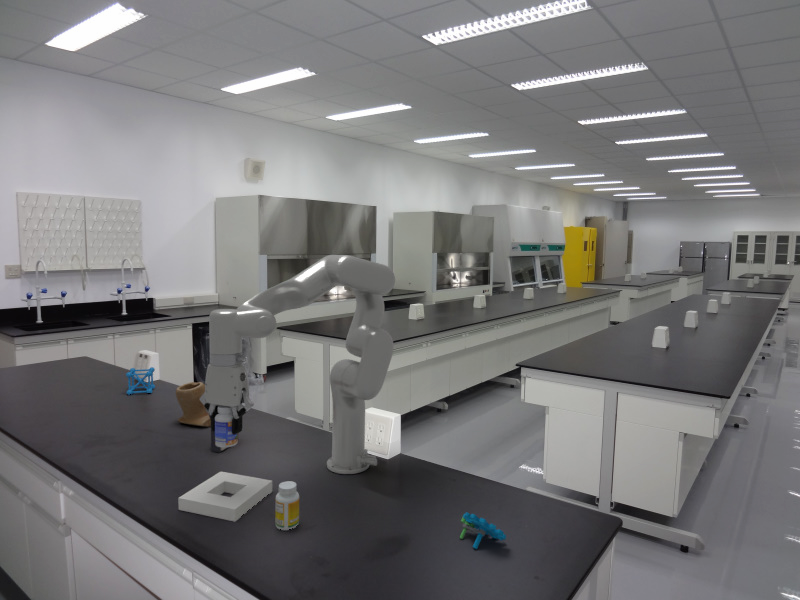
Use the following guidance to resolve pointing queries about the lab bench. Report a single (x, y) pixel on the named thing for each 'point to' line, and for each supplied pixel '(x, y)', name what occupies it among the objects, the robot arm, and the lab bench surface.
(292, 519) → the supplement bottle
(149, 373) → the molecular structure
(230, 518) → the white square frame
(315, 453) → the lab bench surface
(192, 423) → the tan hollow piece
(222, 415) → the pill bottle
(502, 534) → the blue plastic legged piece
